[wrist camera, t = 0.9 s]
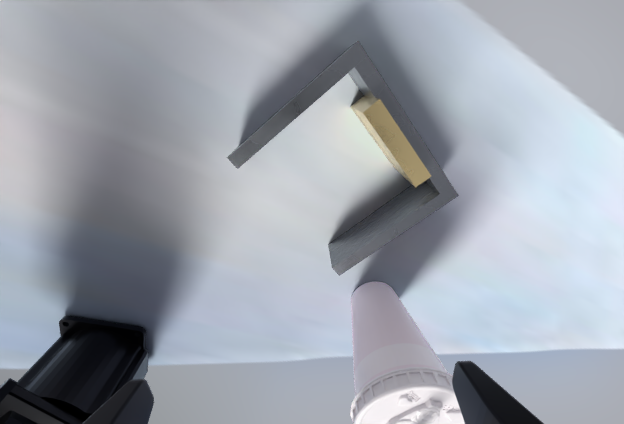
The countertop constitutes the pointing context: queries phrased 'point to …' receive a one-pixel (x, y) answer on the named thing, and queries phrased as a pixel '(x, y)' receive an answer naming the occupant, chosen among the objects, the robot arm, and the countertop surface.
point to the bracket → (392, 141)
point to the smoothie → (396, 365)
